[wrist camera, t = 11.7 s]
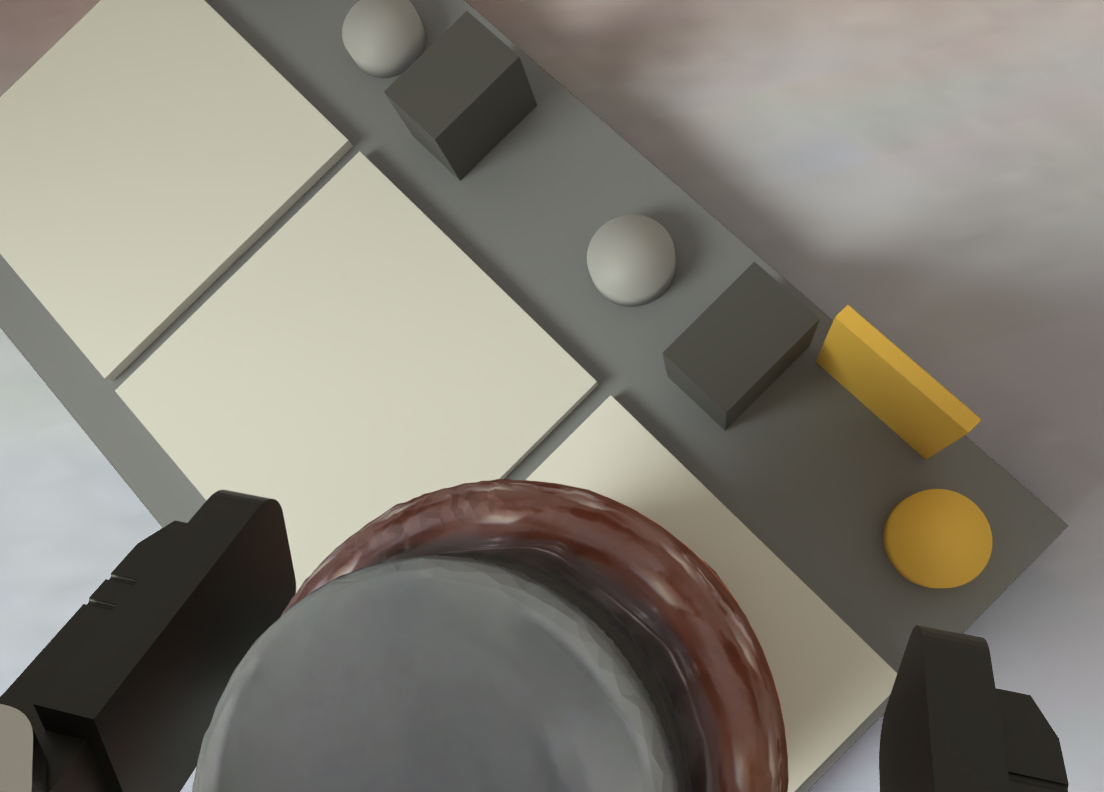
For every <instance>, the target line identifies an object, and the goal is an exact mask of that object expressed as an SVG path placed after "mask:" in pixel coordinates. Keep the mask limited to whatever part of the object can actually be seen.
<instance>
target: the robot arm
mask: <svg viewBox="0 0 1104 792" xmlns="http://www.w3.org/2000/svg"><path fill="white" fill-rule="evenodd" d="M295 594H296V579H295V574H294V568H293V563H292V558H291V552H290V547H289V542H288V536H287V531H286V526H285V521H284V515H283V511H282V507H281V505H280V503H279V502H278V501H277V500H275V499H271V498H265V497H260V496H255V495H250V494H245V493H239V492H234V491H229V490H219V491H216V492H215V493H214V494H212V495H211V496H210V497H209V498H208V500H207V501H206V502H205V503H204V504H203V505H202V507H201V508H200V509H199V510H198V511H197V512H196V514H195V515H194V516H193V517H192V518H191V519H190V521H189V522H188V523H185V522H180V521H176V520H175V521H173V522H172V523H170V524H168V525H167V526H165V527H164V528H162V529H160V530H159V531H157V532H156V533H154V534H152V535H151V536H149V537H148V538H146V539H144V540H143V541H141V542H140V543H138V544H137V545H136V546H135V547H134V548H133V549H132V551H131V552H130V553H129V554H128V555H127V556H126V557H125V558H124V560H123V561H122V562H121V563H120V564H119V565H118V566H117V567H116V569H115V570H114V571H113V572H112V573H111V578H110V579H109V580H105V581H104V582H103V583H102V584H101V585H100V586H99V588H98V589H97V590H96V591H95V592H94V593H93V594H92V595H91V597H90V598H89V603H88V604H87V605H85V604H83V605H82V607H81V608H80V609H79V610H78V611H77V612H76V613H75V614H74V616H73V617H72V618H71V619H70V620H69V621H68V622H67V623H66V625H65V626H64V627H63V628H62V629H61V630H60V631H59V632H58V633H57V635H56V636H55V637H54V638H53V639H52V640H51V641H50V642H49V644H48V645H47V646H46V647H45V648H44V649H43V650H42V651H41V652H40V654H39V655H38V656H37V657H36V658H35V659H34V660H33V661H32V663H31V664H30V665H29V666H28V667H27V668H26V669H25V670H24V672H23V673H22V674H21V675H20V676H19V677H18V678H17V679H16V680H15V682H14V683H13V684H12V685H11V686H10V687H9V688H8V689H7V691H6V692H5V693H4V694H3V695H2V696H1V697H0V792H180V791H181V789H182V788H183V786H184V785H185V783H186V782H187V780H188V778H189V777H190V775H191V774H192V772H193V771H194V769H195V767H196V766H197V761H198V757H199V754H200V750H201V745H202V741H203V738H204V734H205V733H206V731H207V729H208V728H209V726H210V723H211V720H212V717H213V714H214V711H215V708H216V706H217V704H218V702H219V700H220V698H221V696H222V694H223V692H224V690H225V688H226V686H227V684H228V682H229V680H230V677H231V675H232V673H233V671H234V670H235V669H236V667H237V666H238V664H239V663H240V662H241V660H242V659H243V658H244V656H245V655H246V653H247V652H248V651H249V649H250V648H251V646H252V645H253V644H254V642H255V641H256V640H257V639H258V638H259V637H260V636H261V635H262V634H263V633H264V632H265V631H266V630H267V629H268V628H269V627H270V626H271V625H272V624H273V623H274V622H275V621H277V620H278V619H279V618H280V617H281V615H282V612H283V611H284V610H285V608H286V607H287V606H288V604H289V602H290V600H291V599H292V598H293V597H294V595H295ZM879 770H880V792H1068V785H1069V784H1068V780H1067V775H1066V770H1065V765H1064V761H1063V756H1062V751H1061V746H1060V742H1059V738H1058V737H1057V735H1056V734H1055V732H1054V731H1053V729H1052V728H1051V726H1050V725H1049V723H1048V722H1047V720H1046V718H1045V717H1044V715H1043V714H1042V712H1041V711H1040V709H1039V708H1038V706H1037V705H1036V703H1035V702H1034V700H1033V699H1032V697H1031V696H1030V695H1025V694H1020V693H1016V692H1011V691H1006V690H1001V689H996V688H995V683H994V677H993V671H992V664H991V658H990V652H989V647H988V644H987V642H986V640H985V639H984V638H981V637H975V636H970V635H965V634H960V633H955V632H949V631H944V630H939V629H934V628H929V627H924V626H918V625H916V626H915V627H914V628H913V630H912V632H911V635H910V637H909V640H908V643H907V646H906V649H905V652H904V655H903V658H902V661H901V664H900V667H899V670H898V673H897V676H896V679H895V682H894V685H893V688H892V691H891V694H890V697H889V700H888V703H887V706H886V710H885V714H884V718H883V724H882V730H881V739H880V752H879Z"/></svg>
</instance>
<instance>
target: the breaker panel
mask: <svg viewBox="0 0 1104 792" xmlns="http://www.w3.org/2000/svg"><path fill="white" fill-rule="evenodd" d="M0 328H1V329H2V330H3V331H4V333H5V334H6V335H7V336H8V338H9V339H10V340H11V341H12V343H13V344H14V345H15V346H16V347H17V349H18V350H19V351H20V352H21V354H22V355H23V356H24V357H25V359H26V360H27V361H28V362H29V364H30V365H31V366H32V367H33V368H34V370H35V371H36V372H37V373H38V375H39V376H40V377H41V378H42V380H43V381H44V382H45V383H46V384H47V386H48V387H49V388H50V389H51V391H52V392H53V393H54V394H55V396H56V397H57V398H58V399H59V401H60V402H61V403H62V404H63V405H64V407H65V408H66V409H67V410H68V412H69V413H70V414H71V415H72V417H73V418H74V419H75V420H76V421H77V423H78V424H79V425H80V426H81V428H82V429H83V430H84V431H85V433H86V434H87V435H88V436H89V438H90V439H91V440H92V441H93V442H94V444H95V445H96V446H97V447H98V449H99V450H100V451H101V452H102V454H103V455H104V456H105V457H106V459H107V460H108V461H109V462H110V463H111V465H112V466H113V467H114V468H115V470H116V471H117V472H118V473H119V475H120V476H121V477H122V478H123V479H124V481H125V482H126V483H127V484H128V486H129V487H130V488H131V489H132V491H133V492H134V493H135V494H136V496H137V497H138V498H139V499H140V500H141V502H142V503H143V504H144V505H145V507H146V508H147V509H148V510H149V512H150V513H151V514H152V515H153V517H154V518H155V519H156V520H157V521H158V523H159V524H160V525H161V526H162V528H164V527H165V526H167V525H168V524H170V523H172V522H173V521H175V520H176V521H180V522H185V523H188V522H189V521H190V519H191V518H192V517H193V516H194V515H195V514H196V512H197V511H198V510H199V509H200V508H201V507H202V505H203V504H204V503H205V502H206V501H207V500H208V498H209V497H210V496H211V495H212V494H214V493H215V492H216V491H219V490H229V491H234V492H239V493H245V494H250V495H255V496H260V497H265V498H271V499H275V500H277V501H278V502H279V503H280V505H281V507H282V511H283V515H284V521H285V526H286V531H287V536H288V542H289V547H290V552H291V558H292V563H293V568H294V574H295V579H296V593H297V591H298V590H299V588H300V587H301V585H302V584H303V582H304V581H305V579H306V578H308V577H309V576H310V575H311V574H312V573H313V571H314V570H315V569H316V568H317V567H318V566H319V565H320V563H321V562H322V561H323V560H324V559H325V558H326V557H327V556H329V555H330V554H331V553H332V552H333V551H334V549H335V548H336V547H338V546H339V545H341V544H342V543H343V542H344V541H345V540H347V539H348V538H349V537H350V536H352V535H353V534H355V533H356V532H358V531H359V530H360V529H361V528H363V527H364V526H365V525H366V524H368V523H369V522H371V521H373V520H374V519H376V518H377V517H379V516H380V515H382V514H383V513H385V512H386V511H387V510H389V509H390V508H392V507H393V506H395V505H396V504H399V503H405V502H407V501H409V500H411V499H413V498H416V497H419V496H421V495H423V494H426V493H431V492H434V491H437V490H440V489H443V488H450V487H454V486H457V485H460V484H463V483H474V482H480V481H491V480H496V479H511V480H528V481H540V482H549V483H557V484H563V485H568V486H573V487H578V488H582V489H587V490H590V491H593V492H595V493H598V494H600V495H603V496H605V497H608V498H611V499H613V500H615V501H617V502H619V503H622V504H624V505H626V506H628V507H630V508H632V509H634V510H636V511H638V512H639V513H641V514H643V515H644V516H646V517H647V518H649V519H651V520H652V521H654V522H656V523H657V524H659V525H660V526H662V527H663V528H664V529H666V530H667V531H668V532H670V533H671V534H672V535H673V536H675V537H676V538H677V539H678V540H680V541H681V542H682V543H683V544H685V545H686V546H687V547H688V548H690V549H691V550H692V551H693V552H694V553H695V554H696V555H697V556H699V557H700V558H701V559H702V560H703V561H705V562H706V563H707V564H708V565H709V566H710V567H711V568H712V569H713V570H714V571H715V572H716V573H717V575H718V576H719V578H720V579H721V580H722V581H723V583H724V584H725V586H726V587H727V588H728V590H729V591H730V593H731V594H732V595H733V597H734V598H735V600H736V601H737V603H738V604H739V606H740V608H741V609H742V611H743V612H744V614H745V615H746V617H747V619H748V621H749V623H750V625H751V626H752V628H753V630H754V632H755V634H756V636H757V638H758V640H759V642H760V645H761V647H762V649H763V652H764V654H765V657H766V660H767V662H768V665H769V668H770V670H771V673H772V676H773V679H774V683H775V686H776V690H777V692H778V697H779V700H780V705H781V711H782V716H783V721H784V726H785V735H786V744H787V753H788V779H789V781H788V792H807V791H808V790H809V789H810V788H811V787H812V786H813V785H814V784H815V782H816V781H817V780H818V779H819V778H820V777H821V776H822V775H823V774H824V773H825V772H826V771H827V770H828V769H829V768H830V767H831V766H832V765H833V764H834V763H835V762H836V761H837V760H838V759H839V758H840V757H841V756H842V755H843V754H844V753H845V752H846V751H847V750H848V749H849V748H850V747H851V746H852V745H853V744H854V743H855V742H856V741H857V740H858V739H859V738H860V737H861V736H862V735H863V734H864V733H865V732H866V731H867V730H868V729H869V728H870V727H871V726H872V725H873V724H874V723H875V722H876V721H877V719H878V718H879V717H880V716H881V715H882V714H883V713H884V712H885V710H886V706H887V703H888V700H889V697H890V694H891V691H892V688H893V685H894V682H895V679H896V676H897V673H898V670H899V667H900V664H901V661H902V658H903V655H904V652H905V649H906V646H907V643H908V640H909V637H910V635H911V632H912V630H913V628H914V627H915V626H916V625H918V626H924V627H929V628H934V629H939V630H944V631H949V632H955V633H960V634H962V633H963V632H964V631H965V630H966V629H967V628H968V627H969V626H970V625H971V624H972V623H973V622H974V621H975V620H976V619H977V618H978V617H979V616H980V615H981V614H982V613H983V612H984V611H985V610H986V609H987V608H988V607H989V606H990V605H991V604H992V603H993V602H994V601H995V600H996V599H997V598H998V597H999V596H1000V594H1001V593H1002V592H1003V591H1004V590H1005V589H1006V588H1007V587H1008V586H1009V585H1010V584H1011V583H1012V582H1013V581H1014V580H1015V579H1016V578H1017V577H1018V576H1019V575H1020V574H1021V573H1022V572H1023V571H1024V570H1025V569H1026V568H1027V567H1028V566H1029V565H1030V564H1031V563H1032V562H1033V561H1034V560H1035V559H1036V558H1037V557H1038V556H1039V555H1040V554H1041V553H1042V552H1043V551H1044V550H1045V549H1046V548H1047V547H1048V546H1049V545H1050V544H1051V543H1052V542H1053V541H1054V540H1055V539H1056V538H1057V537H1058V536H1059V535H1060V534H1061V533H1062V531H1063V530H1064V529H1065V528H1066V527H1067V526H1068V525H1067V524H1066V523H1065V522H1064V521H1063V520H1062V519H1060V518H1059V517H1058V516H1057V515H1056V514H1055V513H1054V512H1052V511H1051V510H1050V509H1049V508H1048V507H1047V506H1046V505H1044V504H1043V503H1042V502H1041V501H1040V500H1039V499H1037V498H1036V497H1035V496H1034V495H1033V494H1032V493H1031V492H1029V491H1028V490H1027V489H1026V488H1025V487H1024V486H1022V485H1021V484H1020V483H1019V482H1018V481H1017V480H1016V479H1014V478H1013V477H1012V476H1011V475H1010V474H1009V473H1008V472H1006V471H1005V470H1004V469H1003V468H1002V467H1001V466H999V465H998V464H997V463H996V462H995V461H994V460H993V459H991V458H990V457H989V456H988V455H987V454H986V453H985V452H983V451H982V450H981V449H980V448H979V447H978V446H976V445H975V444H974V443H973V442H972V441H971V440H970V439H968V438H967V437H966V436H965V435H966V434H968V433H969V432H970V431H971V430H972V429H973V428H974V427H975V426H976V425H977V424H978V423H979V422H980V421H981V420H982V419H981V418H979V417H978V416H977V415H976V414H975V413H974V412H972V411H971V410H970V409H969V408H968V407H967V406H965V405H964V404H963V403H962V402H961V401H960V400H958V399H957V398H956V397H955V396H954V395H953V394H951V393H950V392H949V391H948V390H947V389H946V388H944V387H943V386H942V385H941V384H940V383H939V382H937V381H936V380H935V379H934V378H933V377H932V376H930V375H929V374H928V373H927V372H926V371H925V370H923V369H922V368H921V367H920V366H919V365H918V364H916V363H915V362H914V361H913V360H912V359H911V358H909V357H908V356H907V355H906V354H905V353H904V352H902V351H901V350H900V349H899V348H898V347H897V346H896V345H894V344H893V343H892V342H891V341H890V340H889V339H887V338H886V337H885V336H884V335H883V334H882V333H880V332H879V331H878V330H877V329H876V328H875V327H873V326H872V325H871V324H870V323H869V322H868V321H866V320H865V319H864V318H863V317H862V316H861V315H859V314H858V313H857V312H856V311H855V310H854V309H852V308H851V307H850V306H849V305H847V306H846V307H845V308H844V309H843V310H842V311H841V312H840V313H839V314H838V315H837V316H836V317H835V318H834V321H833V320H831V319H830V318H829V317H828V316H827V315H826V314H825V313H823V312H822V311H821V310H820V309H819V308H818V307H817V306H815V305H814V304H813V303H812V302H811V301H810V300H808V299H807V298H806V297H805V296H804V295H803V294H802V293H800V292H799V291H798V290H797V289H796V288H795V287H794V286H792V285H791V284H790V283H789V282H788V281H787V280H785V279H784V278H783V277H782V276H781V275H780V274H779V273H777V272H776V271H775V270H774V269H773V268H772V267H770V266H769V265H768V264H767V263H766V262H765V261H764V260H762V259H761V258H760V257H759V256H758V255H757V254H756V253H754V252H753V251H752V250H751V249H750V248H749V247H747V246H746V245H745V244H744V243H743V242H742V241H741V240H739V239H738V238H737V237H736V236H735V235H734V234H733V233H731V232H730V231H729V230H728V229H727V228H726V227H724V226H723V225H722V224H721V223H720V222H719V221H718V220H716V219H715V218H714V217H713V216H712V215H711V214H710V213H708V212H707V211H706V210H705V209H704V208H703V207H701V206H700V205H699V204H698V203H697V202H696V201H695V200H693V199H692V198H691V197H690V196H689V195H688V194H686V193H685V192H684V191H683V190H682V189H681V188H680V187H678V186H677V185H676V184H675V183H674V182H673V181H672V180H670V179H669V178H668V177H667V176H666V175H665V174H663V173H662V172H661V171H660V170H659V169H658V168H657V167H655V166H654V165H653V164H652V163H651V162H650V161H649V160H647V159H646V158H645V157H644V156H643V155H642V154H640V153H639V152H638V151H637V150H636V149H635V148H634V147H632V146H631V145H630V144H629V143H628V142H627V141H626V140H624V139H623V138H622V137H621V136H620V135H619V134H617V133H616V132H615V131H614V130H613V129H612V128H611V127H609V126H608V125H607V124H606V123H605V122H604V121H602V120H601V119H600V118H599V117H598V116H597V115H596V114H594V113H593V112H592V111H591V110H590V109H589V108H588V107H586V106H585V105H584V104H583V103H582V102H581V101H579V100H578V99H577V98H576V97H575V96H574V95H573V94H571V93H570V92H569V91H568V90H567V89H566V88H565V87H563V86H562V85H561V84H560V83H559V82H558V81H556V80H555V79H554V78H553V77H552V76H551V75H550V74H548V73H547V72H546V71H545V70H544V69H543V68H542V67H540V66H539V65H538V64H537V63H536V62H535V61H533V60H532V59H531V58H530V57H529V56H528V55H527V54H525V53H524V52H523V51H522V50H521V49H520V48H518V47H517V46H516V45H515V44H514V43H513V42H512V41H510V40H509V39H508V38H507V37H506V36H505V35H504V34H502V33H501V32H500V31H499V30H498V29H497V28H495V27H494V26H493V25H492V24H491V23H490V22H489V21H487V20H486V19H485V18H484V17H483V16H482V15H481V14H479V13H478V12H477V11H476V10H475V9H474V8H472V7H471V6H470V5H469V4H468V3H467V2H466V1H464V0H100V1H99V2H98V3H97V4H96V5H95V6H94V7H93V8H92V9H91V10H90V11H89V12H88V13H87V14H86V15H85V16H84V17H83V18H82V19H81V20H80V21H79V22H78V23H77V24H76V25H74V26H73V27H72V28H71V29H70V30H69V31H68V32H67V33H66V34H65V35H64V36H63V37H62V38H61V39H60V40H59V41H58V42H57V43H56V44H55V45H54V46H53V47H52V48H51V49H50V50H49V51H48V52H46V53H45V54H44V55H43V56H42V57H41V58H40V59H39V60H38V61H37V62H36V63H35V64H34V65H33V66H32V67H31V68H30V69H29V70H28V71H27V72H26V73H25V74H24V75H23V76H22V77H21V78H20V79H18V80H17V81H16V82H15V83H14V84H13V85H12V86H11V87H10V88H9V89H8V90H7V91H6V92H5V93H4V94H3V95H2V96H1V97H0Z"/></svg>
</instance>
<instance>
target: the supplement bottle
mask: <svg viewBox="0 0 1104 792" xmlns="http://www.w3.org/2000/svg"><path fill="white" fill-rule="evenodd" d="M788 781H789V779H788V753H787V744H786V735H785V726H784V721H783V716H782V711H781V705H780V700H779V697H778V692H777V690H776V686H775V683H774V679H773V676H772V673H771V670H770V668H769V665H768V662H767V660H766V657H765V654H764V652H763V649H762V647H761V645H760V642H759V640H758V638H757V636H756V634H755V632H754V630H753V628H752V626H751V625H750V623H749V621H748V619H747V617H746V615H745V614H744V612H743V611H742V609H741V608H740V606H739V604H738V603H737V601H736V600H735V598H734V597H733V595H732V594H731V593H730V591H729V590H728V588H727V587H726V586H725V584H724V583H723V581H722V580H721V579H720V578H719V576H718V575H717V573H716V572H715V571H714V570H713V569H712V568H711V567H710V566H709V565H708V564H707V563H706V562H705V561H703V560H702V559H701V558H700V557H699V556H697V555H696V554H695V553H694V552H693V551H692V550H691V549H690V548H688V547H687V546H686V545H685V544H683V543H682V542H681V541H680V540H678V539H677V538H676V537H675V536H673V535H672V534H671V533H670V532H668V531H667V530H666V529H664V528H663V527H662V526H660V525H659V524H657V523H656V522H654V521H652V520H651V519H649V518H647V517H646V516H644V515H643V514H641V513H639V512H638V511H636V510H634V509H632V508H630V507H628V506H626V505H624V504H622V503H619V502H617V501H615V500H613V499H611V498H608V497H605V496H603V495H600V494H598V493H595V492H593V491H590V490H587V489H582V488H578V487H573V486H568V485H563V484H557V483H549V482H540V481H528V480H511V479H496V480H491V481H480V482H474V483H463V484H460V485H457V486H454V487H450V488H443V489H440V490H437V491H434V492H431V493H426V494H423V495H421V496H419V497H416V498H413V499H411V500H409V501H407V502H405V503H399V504H396V505H395V506H393V507H392V508H390V509H389V510H387V511H386V512H385V513H383V514H382V515H380V516H379V517H377V518H376V519H374V520H373V521H371V522H369V523H368V524H366V525H365V526H364V527H363V528H361V529H360V530H359V531H358V532H356V533H355V534H353V535H352V536H350V537H349V538H348V539H347V540H345V541H344V542H343V543H342V544H341V545H339V546H338V547H336V548H335V549H334V551H333V552H332V553H331V554H330V555H329V556H327V557H326V558H325V559H324V560H323V561H322V562H321V563H320V565H319V566H318V567H317V568H316V569H315V570H314V571H313V573H312V574H311V575H310V576H309V577H308V578H306V579H305V581H304V582H303V584H302V585H301V587H300V588H299V590H298V591H297V593H296V594H295V595H294V597H293V598H292V599H291V600H290V602H289V604H288V606H287V607H286V608H285V610H284V611H283V612H282V615H281V617H280V618H279V619H278V620H277V621H275V622H274V623H273V624H272V625H271V626H270V627H269V628H268V629H267V630H266V631H265V632H264V633H263V634H262V635H261V636H260V637H259V638H258V639H257V640H256V641H255V642H254V644H253V645H252V646H251V648H250V649H249V651H248V652H247V653H246V655H245V656H244V658H243V659H242V660H241V662H240V663H239V664H238V666H237V667H236V669H235V670H234V671H233V673H232V675H231V677H230V680H229V682H228V684H227V686H226V688H225V690H224V692H223V694H222V696H221V698H220V700H219V702H218V704H217V706H216V708H215V711H214V714H213V717H212V720H211V723H210V726H209V728H208V729H207V731H206V733H205V734H204V738H203V741H202V745H201V750H200V754H199V757H198V761H197V768H196V774H195V779H194V783H193V792H788Z"/></svg>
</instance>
